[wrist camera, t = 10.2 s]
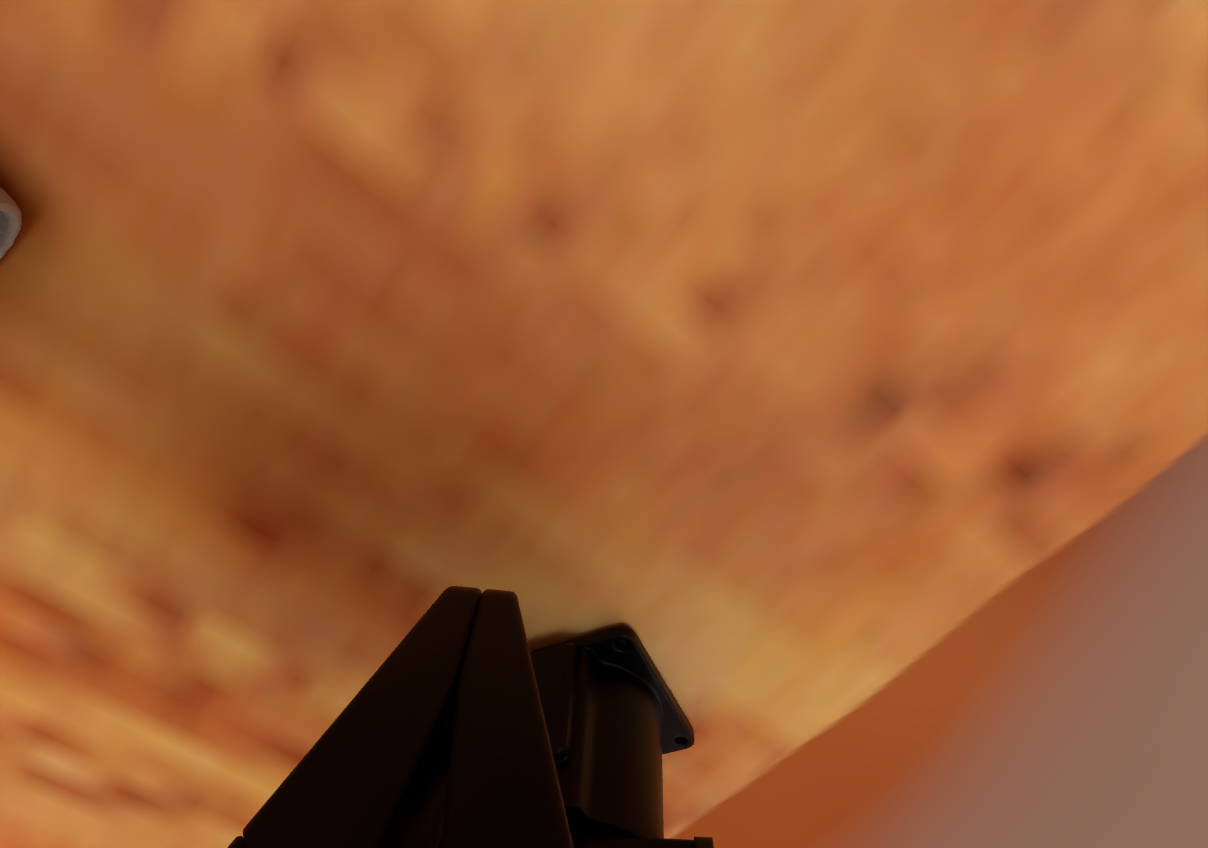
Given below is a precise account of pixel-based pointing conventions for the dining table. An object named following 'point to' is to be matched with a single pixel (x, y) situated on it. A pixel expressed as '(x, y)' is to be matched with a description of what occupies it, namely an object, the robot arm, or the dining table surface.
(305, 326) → the dining table surface
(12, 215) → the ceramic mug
